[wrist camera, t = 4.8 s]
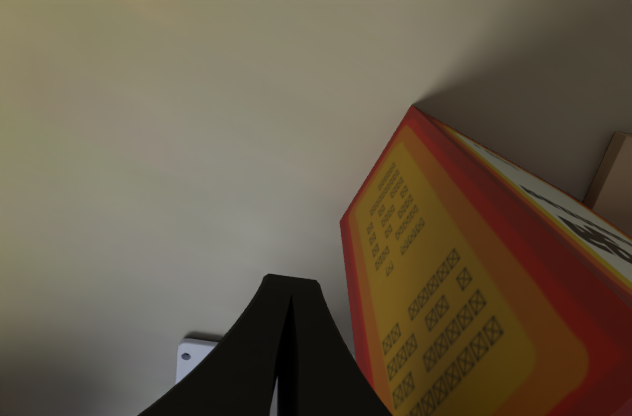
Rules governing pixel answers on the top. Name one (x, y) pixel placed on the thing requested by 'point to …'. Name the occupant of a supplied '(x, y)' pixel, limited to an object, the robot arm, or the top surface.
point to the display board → (614, 184)
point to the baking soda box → (484, 285)
